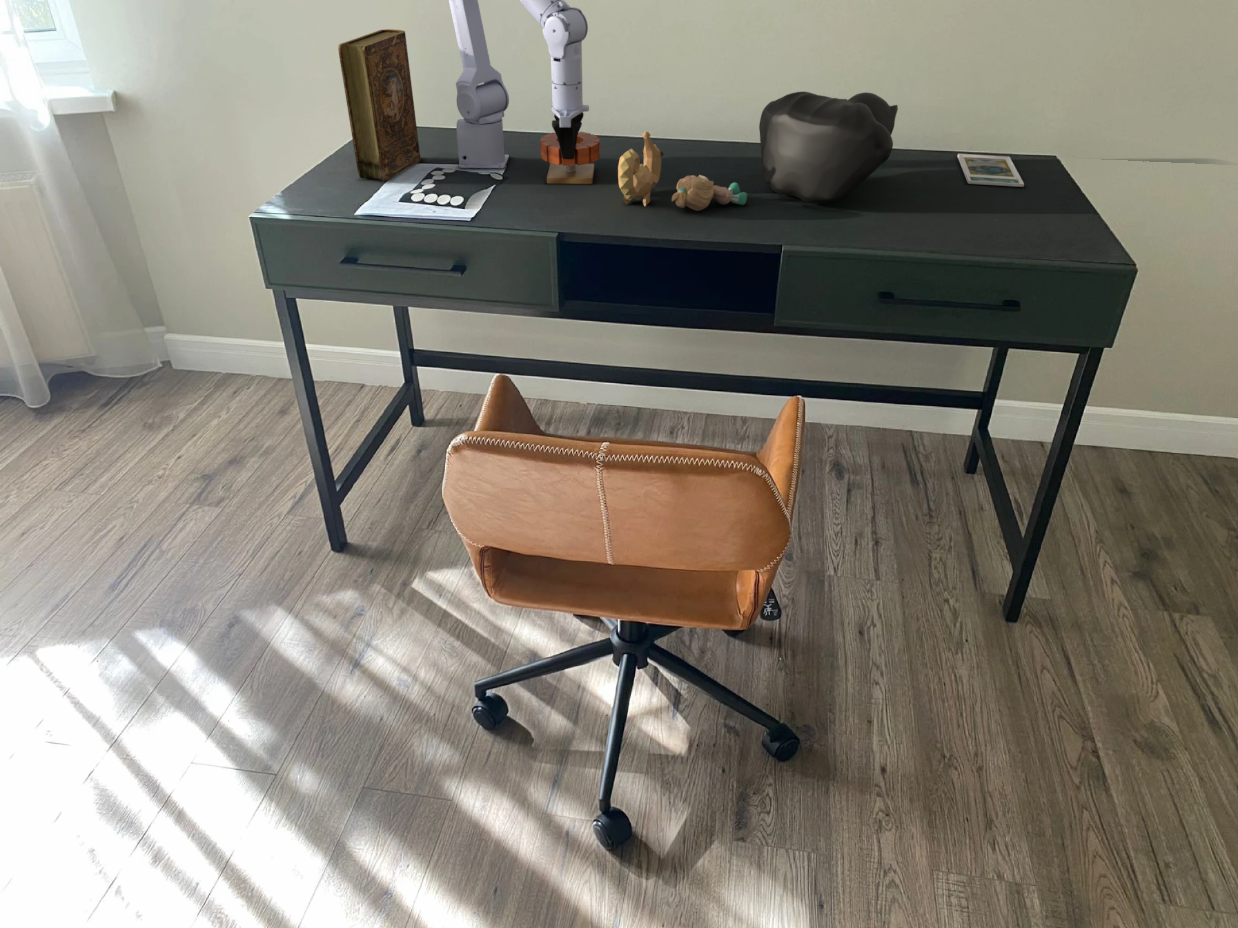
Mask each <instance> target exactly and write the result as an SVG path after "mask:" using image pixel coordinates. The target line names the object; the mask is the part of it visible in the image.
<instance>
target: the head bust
mask: <svg viewBox="0 0 1238 928" xmlns="http://www.w3.org/2000/svg"><path fill="white" fill-rule="evenodd" d="M898 106H899V105H898V104H893V105H890V104H889V103H888V102H887V101H886V99H884V98H883V97H881V96H879V95H877V94H875V93H873V92H859V93H856V94H854V95H853V96H851V97H850V98H838V97H831V96H825V95H820V94H816V93H812V92H810V91H796V92H791V93H788V94H785V95H783V96H781V97H779V98H777V99H775V100H771V101H770V102H768V103H767V104H766V105H765V106H764V108H763V110H762V111H761V115H760V119H759V124H758V129H759V143H760V153H761V166H762V177H763V181H764V183H765V184H766V185H767V186H768V187H769V188H770V189H771V190H772V191H774V192H776V193H777V194H779V195H781V196H784V197H788V198H793V197H794V198H797V199H799V200H801V201H802V202H805V203H809V204H814V205H828V204H831V203H832V204H833V203H836V202H839V201H841V200H842V199H844V198H846V197H847V196H849V195H850V194H852V193H853V192H854V191H855V190H856V189H857V188H858V187H859V186H860V185H861V184H862V183H863V182H865V181H866V180H867V179H868V177H870V175H872V174H873V173H874V172H875V171H876V170H878V168H880V166H881V165H882V164H884V163H885V162H886V161H888V160H889V159H890V156H891V153H892V150H893V148H894V142H893V141H894V140H893V137H892V134H893V132H894V128H895V123H896V117H897V113H898V110H899V107H898Z"/></svg>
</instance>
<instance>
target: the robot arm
mask: <svg viewBox="0 0 1238 928" xmlns="http://www.w3.org/2000/svg"><path fill="white" fill-rule="evenodd" d="M519 2H520V4H521V5H522V6H523V8H525V9H526V10H527V12H528V13H529V14H530V15H531V16H532V18H534V20H535V21H536V22H537V23H538V24H539V25H540V27H542V35H543V38H544V40H545V42H546V44H547V47H548V54H549V57H550V71H551V73H550V74H551V76H550V77H551V98H552V99H551V104H552V105H551V112H552V113H553V114H554V115H553V118H554V119H552V120H551V127H552V129H553V131H554V132H555V133H556V135H557V138H558V141H559V145H560V150H561V154H562V158H563V159H573V158H574V154H575V147H576V143H577V136H578V133H579V132H580V130H581V128H582V125H583V122H582V121H583V119H584V115H585V114H584V113H585V112H589V111H590V106H589V105H588V104H583V101H584V99H583V45H582V44H583V41H584V40H585V39H586V37H587V35H588V32H589V26H588V20H587V17H586V16H585V14H584V13H583V11H582V10H581V9H580V8H579V7H574V6H573V7H572V6H571V5H569V4H568V3H567V2H566V1H565V0H519ZM448 5H449V8H450V13H451V18H452V22H453V27H454V32H455V37H456V41H457V46H458V50H459V51H458V52H459V56H460V60H461V64H462V70H463V71H462V72H461V73H460V75H459V77H458V79H457V80H456V83H455V86H456V87H455V88H456V108H457V109H458V112H459V114H460V116H461V117H462V118H459V119H457V120H456V128H455V129H456V131H455V132H456V134H455V135H456V145H457V155H458V168H460V169H505V168H506V166H507V163H508V161H509V157H510V156H509V154H505V141H504V139H505V138H504V125H503V118H504V117H505V111H506V110H507V109H508V107H509V104H510V96H509V92H508V90H507V88H506V86H505V84H504V81H503V78H502V74H501V72H499V71H498V70H497V69H495V68H494V67H493V66H492V65H491V60H490V54H489V50H488V45H487V41H486V34H485V30H484V25H483V20H482V15H481V10H480V9H481V8H480V4H479V1H478V0H448Z"/></svg>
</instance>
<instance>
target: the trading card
mask: <svg viewBox="0 0 1238 928" xmlns="http://www.w3.org/2000/svg"><path fill="white" fill-rule="evenodd" d="M957 159H958V162H959V165H960V166H961V169H962V172H963V174H964V177H965V179H966V183H967V184H969V185H985V186H998V187H999V186H1001V187H1019V188H1024V186H1025V183H1024V180H1023V179H1022V177H1021V175H1020V173H1019V171H1018V170H1017V167H1016V166H1015V163H1014V162H1013V161H1012V158H1011V157H1010V156H1007V155H1005V156H1004V155H988V154H987V155H986V154H968V153H957Z"/></svg>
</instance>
